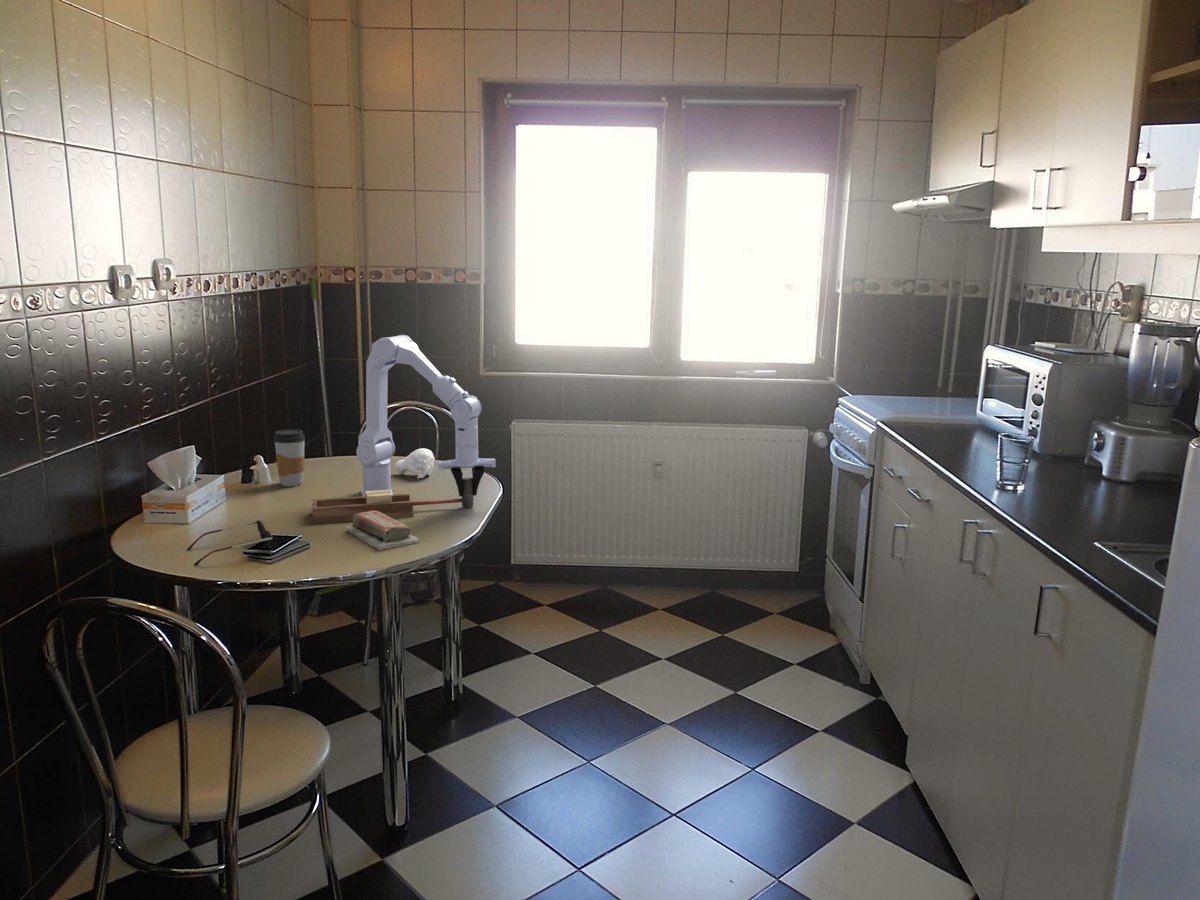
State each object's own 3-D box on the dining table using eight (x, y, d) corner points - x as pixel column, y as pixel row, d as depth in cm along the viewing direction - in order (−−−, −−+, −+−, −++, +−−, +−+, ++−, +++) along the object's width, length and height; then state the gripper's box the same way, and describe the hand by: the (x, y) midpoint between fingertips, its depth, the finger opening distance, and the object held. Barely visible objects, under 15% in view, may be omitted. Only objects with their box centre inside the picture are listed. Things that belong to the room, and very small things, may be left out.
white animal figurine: (425, 451, 258) (388, 451, 262) (428, 479, 260) (391, 479, 263) (435, 446, 264) (399, 447, 268) (438, 475, 266) (402, 474, 269)
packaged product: (344, 513, 212) (382, 506, 218) (344, 533, 213) (383, 525, 219) (379, 531, 198) (419, 524, 205) (380, 552, 199) (420, 544, 206)
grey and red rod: (366, 509, 228) (365, 482, 227) (471, 502, 237) (471, 476, 235) (367, 514, 224) (366, 487, 222) (475, 507, 232) (474, 481, 231)
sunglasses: (275, 556, 195) (272, 535, 194) (195, 573, 187) (191, 550, 186) (261, 539, 207) (258, 518, 206) (186, 554, 199) (182, 532, 198)
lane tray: (312, 512, 227) (311, 498, 226) (408, 505, 234) (408, 492, 234) (313, 523, 218) (312, 509, 217) (413, 516, 225) (413, 503, 224)
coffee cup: (313, 483, 254) (311, 431, 251) (289, 489, 247) (286, 436, 244) (294, 478, 259) (291, 427, 255) (269, 484, 252) (266, 432, 249)
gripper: (440, 448, 225) (441, 501, 227) (497, 445, 229) (498, 497, 232) (436, 442, 231) (437, 493, 234) (492, 440, 236) (492, 490, 239)
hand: (467, 495), depth 233 cm, fingers closed on grey and red rod, 3 cm apart
